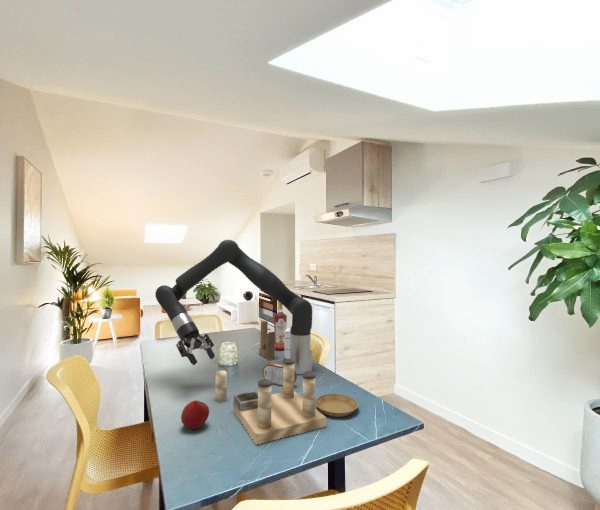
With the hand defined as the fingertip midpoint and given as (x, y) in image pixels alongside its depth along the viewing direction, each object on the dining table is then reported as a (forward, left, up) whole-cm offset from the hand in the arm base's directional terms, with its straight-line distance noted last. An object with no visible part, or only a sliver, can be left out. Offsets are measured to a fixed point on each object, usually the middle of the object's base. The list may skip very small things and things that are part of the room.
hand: (204, 360), depth 128 cm
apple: (+8, +24, -13) cm, 28 cm away
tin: (-29, +4, -13) cm, 32 cm away
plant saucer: (-38, +33, -13) cm, 52 cm away
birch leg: (-4, +8, -13) cm, 16 cm away
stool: (-17, +30, -13) cm, 37 cm away
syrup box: (-49, -26, -13) cm, 57 cm away
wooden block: (-38, -32, -13) cm, 52 cm away
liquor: (-50, -42, -13) cm, 67 cm away
